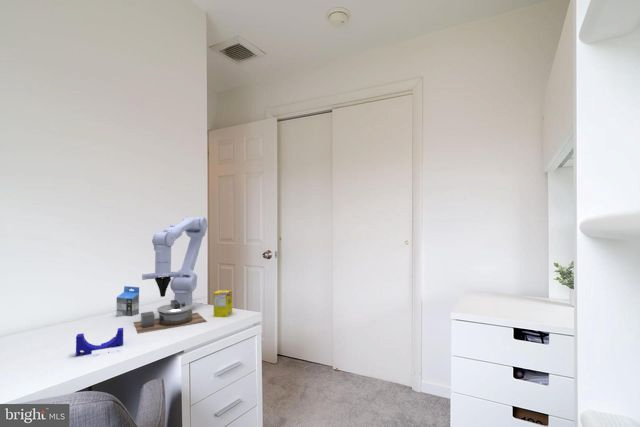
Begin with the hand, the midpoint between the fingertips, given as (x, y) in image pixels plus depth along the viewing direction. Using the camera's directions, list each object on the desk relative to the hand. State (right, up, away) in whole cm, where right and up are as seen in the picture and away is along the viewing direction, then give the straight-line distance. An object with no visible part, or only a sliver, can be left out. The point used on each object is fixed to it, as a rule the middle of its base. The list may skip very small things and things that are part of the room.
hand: (162, 296), depth 131 cm
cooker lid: (+6, -5, -2) cm, 8 cm away
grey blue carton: (-19, -11, +9) cm, 24 cm away
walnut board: (+5, -10, -3) cm, 12 cm away
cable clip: (-6, -10, -29) cm, 31 cm away
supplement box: (+22, -11, +6) cm, 26 cm away
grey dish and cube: (+4, -9, -4) cm, 11 cm away
